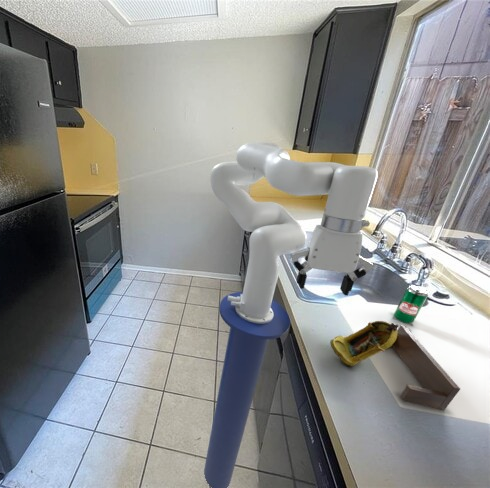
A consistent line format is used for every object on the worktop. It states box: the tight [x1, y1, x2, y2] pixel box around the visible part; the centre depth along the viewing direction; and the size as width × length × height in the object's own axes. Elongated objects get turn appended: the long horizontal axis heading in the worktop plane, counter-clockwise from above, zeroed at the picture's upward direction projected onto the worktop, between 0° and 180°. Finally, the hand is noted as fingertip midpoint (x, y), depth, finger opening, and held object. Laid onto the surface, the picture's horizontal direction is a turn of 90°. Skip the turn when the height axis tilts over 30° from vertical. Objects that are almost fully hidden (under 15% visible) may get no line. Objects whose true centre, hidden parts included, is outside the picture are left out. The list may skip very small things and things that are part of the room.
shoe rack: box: [390, 324, 461, 411], centre depth 66 cm, size 8×20×7 cm, turn 166°
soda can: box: [393, 284, 429, 324], centre depth 83 cm, size 5×5×12 cm
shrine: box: [329, 320, 399, 368], centre depth 66 cm, size 12×8×15 cm
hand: (321, 289), depth 64 cm, fingers open, 9 cm apart
